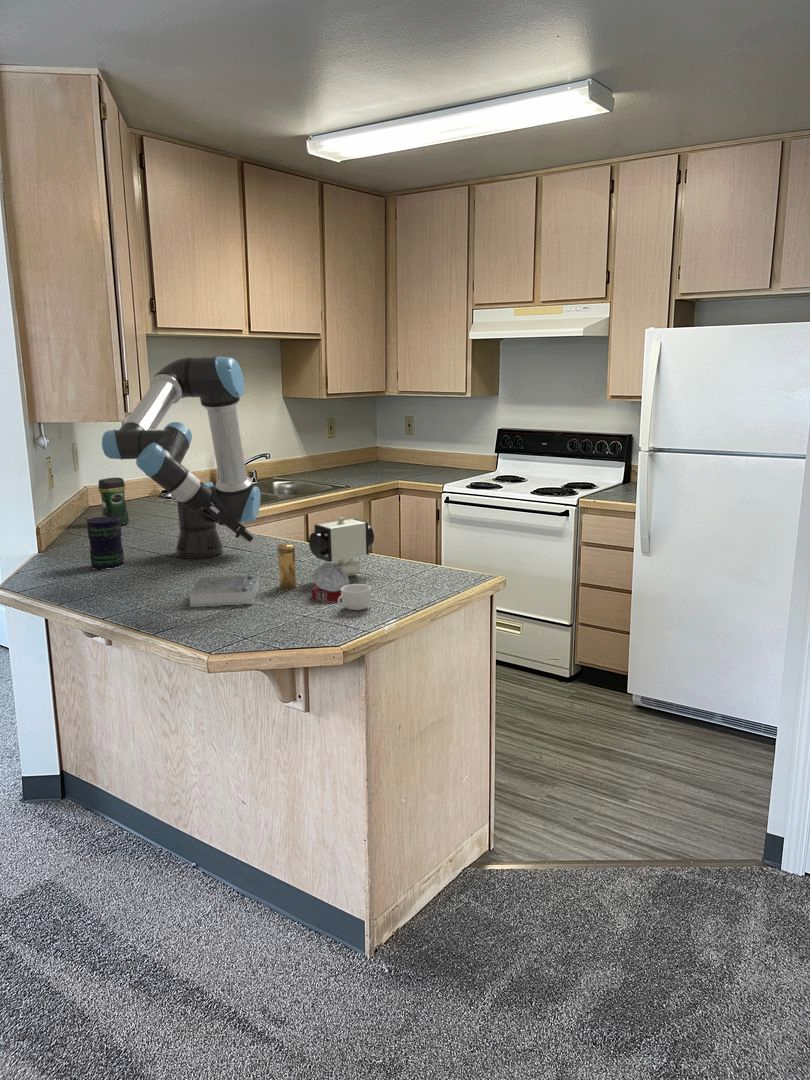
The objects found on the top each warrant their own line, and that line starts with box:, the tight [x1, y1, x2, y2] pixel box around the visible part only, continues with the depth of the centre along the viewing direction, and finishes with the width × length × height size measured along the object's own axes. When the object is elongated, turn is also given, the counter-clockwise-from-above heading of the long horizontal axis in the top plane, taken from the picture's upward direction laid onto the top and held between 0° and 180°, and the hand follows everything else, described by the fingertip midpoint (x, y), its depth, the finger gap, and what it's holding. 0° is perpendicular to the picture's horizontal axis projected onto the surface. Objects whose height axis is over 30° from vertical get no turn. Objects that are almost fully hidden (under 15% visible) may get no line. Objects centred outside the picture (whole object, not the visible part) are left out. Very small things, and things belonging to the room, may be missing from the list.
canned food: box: [311, 562, 350, 602], centre depth 213 cm, size 11×10×10 cm
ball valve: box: [308, 517, 375, 578], centre depth 230 cm, size 18×8×18 cm, turn 127°
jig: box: [188, 574, 260, 608], centre depth 214 cm, size 16×16×4 cm
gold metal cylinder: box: [277, 542, 297, 590], centre depth 222 cm, size 5×5×12 cm
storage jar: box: [86, 516, 125, 569], centre depth 248 cm, size 10×10×15 cm
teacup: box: [337, 583, 372, 611], centre depth 202 cm, size 10×8×5 cm
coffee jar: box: [98, 477, 130, 524], centre depth 312 cm, size 10×8×19 cm
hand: (251, 542), depth 216 cm, fingers open, 13 cm apart
